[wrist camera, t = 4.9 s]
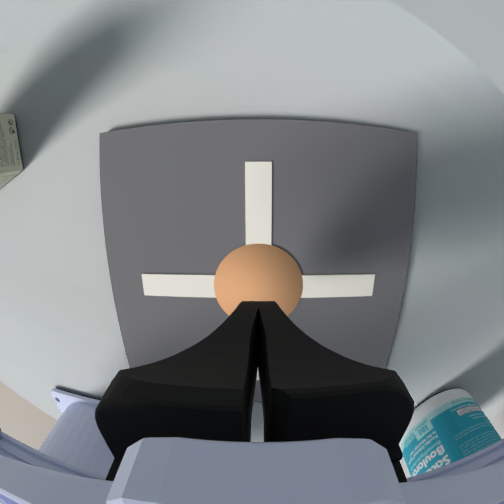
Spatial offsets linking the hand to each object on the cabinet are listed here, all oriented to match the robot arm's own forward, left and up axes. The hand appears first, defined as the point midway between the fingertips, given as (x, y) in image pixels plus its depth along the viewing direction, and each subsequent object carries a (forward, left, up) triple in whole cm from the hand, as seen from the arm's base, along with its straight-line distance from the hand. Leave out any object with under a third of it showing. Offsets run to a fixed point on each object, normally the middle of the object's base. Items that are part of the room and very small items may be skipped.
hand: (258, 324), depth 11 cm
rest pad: (0, 0, -4) cm, 4 cm away
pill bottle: (-13, -15, -5) cm, 20 cm away
